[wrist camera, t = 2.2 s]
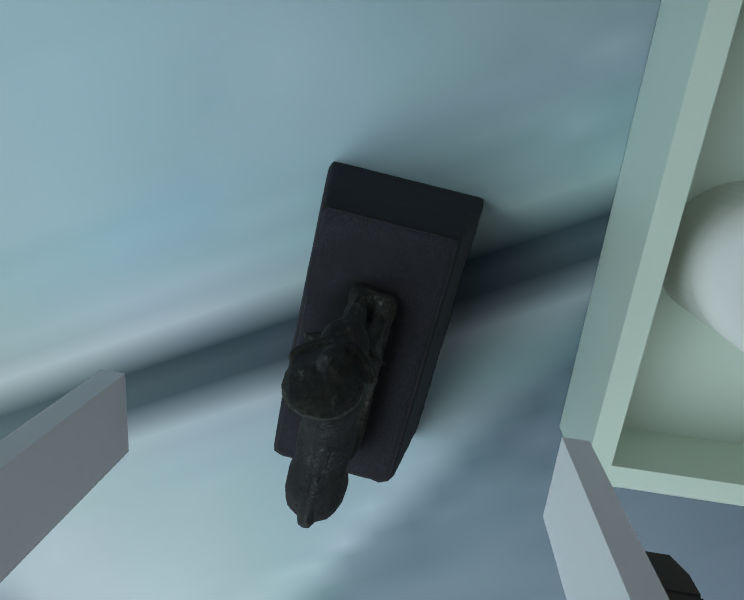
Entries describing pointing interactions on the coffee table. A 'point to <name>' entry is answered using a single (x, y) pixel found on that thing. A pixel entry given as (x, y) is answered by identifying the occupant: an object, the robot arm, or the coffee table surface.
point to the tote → (647, 272)
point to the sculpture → (368, 330)
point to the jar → (711, 261)
